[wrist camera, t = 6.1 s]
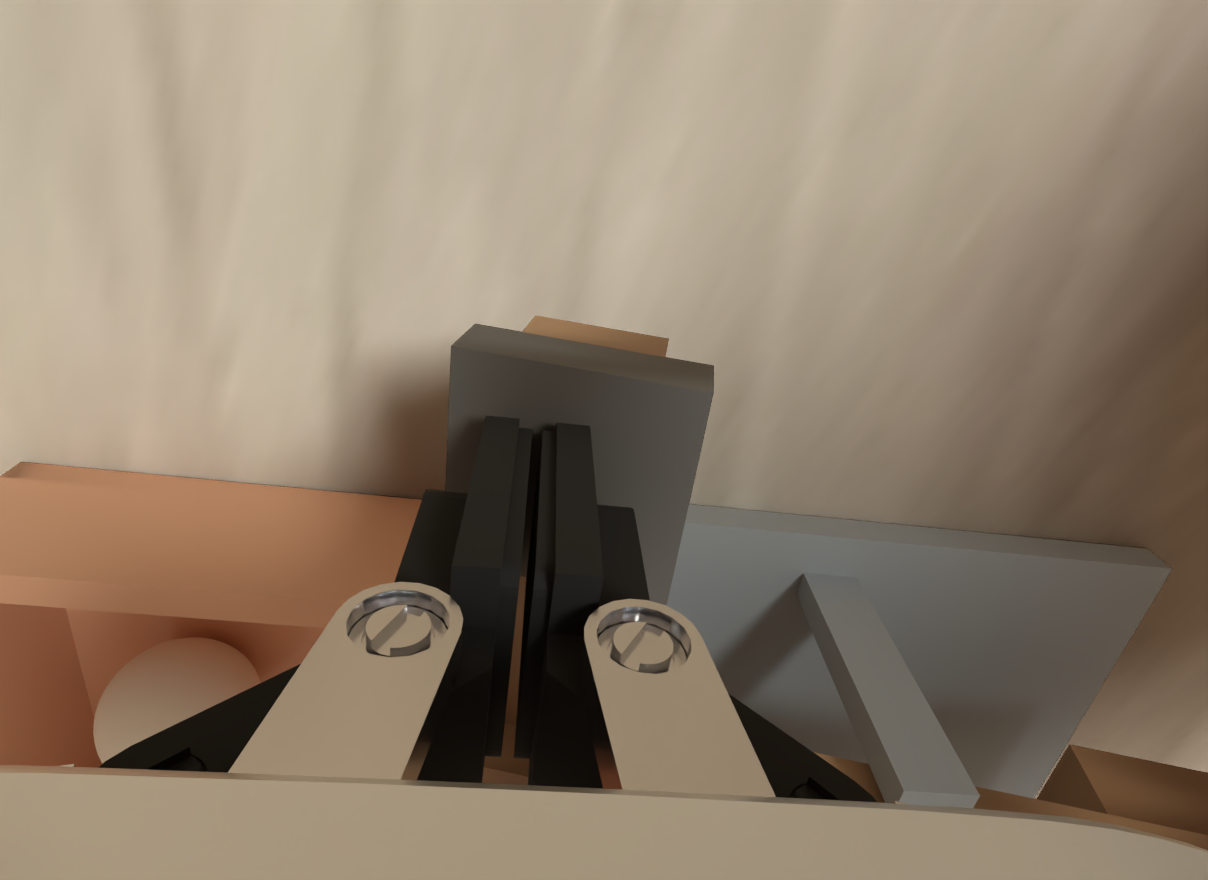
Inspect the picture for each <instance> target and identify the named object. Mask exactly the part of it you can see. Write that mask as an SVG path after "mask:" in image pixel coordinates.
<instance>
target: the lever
mask: <svg viewBox="0 0 1208 880" xmlns="http://www.w3.org/2000/svg"><path fill="white" fill-rule="evenodd" d="M668 340H669V339H667V338H661V337H656V336H650V335H644V334H638V333H633V332H627V331H621V330H615V329H610V328H604V327H598V326H592V325H587V324H581V323H575V322H569V321H564V320H558V319H552V318H546V317H541V316H535V317H534V318H533V319H532V321H531V322H530V323H529V324H528V325H527V327H526V328H525V329H524V330H523V331H522V332H520V331H514V330H508V329H503V328H497V327H491V326H485V325H480V324H474V325H473V326H472V327H471V328H470V329H469V330H468V331H467V332H466V333H465V334H464V335H462V336H461V337H460V338H459V339H458V340H457V341H456V342H455V343H454V344H453V345H452V346H451V364H450V388H449V413H448V437H447V462H446V487H445V491H451V492H462V493H468V491H469V487H470V482H471V478H472V473H473V469H474V465H475V460H476V456H477V452H478V447H479V443H480V438H481V434H482V430H483V425H484V421H485V417H486V415H487V416H497V417H507V418H517V419H520V424H519V428H528V429H532V439H531V451H530V464H529V476H528V488H527V500H526V512H525V524H524V536H523V548H522V560H521V571H520V581H519V591H518V601H517V611H516V620H515V630H514V639H513V649H512V659H511V668H510V678H509V687H508V697H507V706H506V716H505V726H504V735H503V745H502V754H501V757H489V756H485V761H484V770H483V779H482V783H490V784H513V785H528V770H529V759H527V758H514V744H515V730H516V715H517V701H518V686H519V672H520V658H521V643H522V629H523V614H524V600H525V586H526V575H527V565H528V556H529V547H530V538H531V528H532V519H533V510H534V501H535V492H536V483H537V473H538V464H539V455H540V446H541V437H542V430H547V431H555V428H556V423H566V424H576V425H586V426H590V429H591V441H592V452H593V463H594V474H595V486H596V497H597V505H608V506H620V507H631V508H633V510H634V513H635V518H636V524H637V530H638V535H639V541H640V547H641V552H642V558H643V564H644V570H645V575H646V581H647V587H648V592H649V598H650V601H652V602H656V603H659V604H663V605H667V602H668V597H669V593H670V588H671V584H672V579H673V575H674V570H675V566H676V561H677V556H678V552H679V547H680V543H681V538H682V534H683V529H684V525H685V520H686V516H687V511H688V506H689V502H690V497H691V493H692V488H693V484H694V479H695V475H696V470H697V466H698V461H699V456H700V452H701V447H702V443H703V438H704V434H705V429H706V425H707V420H708V416H709V411H710V407H711V402H712V397H713V393H714V366H713V365H707V364H702V363H696V362H690V361H684V360H679V359H673V358H667V357H666V351H667V346H668ZM814 753H815V752H814ZM815 754H817V755H818V756H819V757H821V758H822V759H824V760H825V761H827V762H828V763H830V764H831V765H832V766H834V767H835V768H837V769H838V770H840V771H841V772H843V773H844V774H845V775H847V776H848V777H850V778H851V779H853V780H854V781H855V782H857V783H858V784H859V785H860V786H861V787H862V788H864V789H865V790H866V791H867V792H868V793H869V794H871V795H872V796H873V797H874V799H875V800H876V801H877V802H878V803H885V801H884V799H883V796H882V794H881V792H880V789H879V787H878V785H877V782H876V780H875V778H874V775H873V773H872V771H871V768H870V766H869V764H867V763H862V762H858V761H853V760H848V759H843V758H839V757H834V756H829V755H824V754H820V753H815ZM975 787H976V786H975ZM976 789H977V791H978V793H979V794H980V797H979V799H978V800H977V802H976V804H975V806H974V808H975V809H986V810H997V811H1008V812H1019V813H1030V814H1041V815H1052V816H1063V817H1072V818H1078V819H1084V820H1090V821H1096V822H1102V823H1108V824H1114V825H1120V826H1125V827H1129V828H1133V829H1137V830H1141V831H1144V832H1148V833H1152V834H1156V835H1160V836H1164V837H1167V838H1171V839H1175V840H1179V841H1182V842H1185V843H1189V844H1191V845H1194V846H1197V847H1199V848H1202V849H1205V850H1208V773H1206V772H1201V771H1196V770H1191V769H1187V768H1182V767H1177V766H1172V765H1167V764H1162V763H1157V762H1152V761H1148V760H1143V759H1138V758H1133V757H1128V756H1123V755H1118V754H1113V753H1109V752H1104V751H1099V750H1094V749H1089V748H1084V747H1079V746H1074V745H1069V746H1068V748H1067V750H1066V751H1065V753H1064V755H1063V756H1062V758H1061V760H1060V761H1059V763H1058V765H1057V766H1056V768H1055V770H1054V771H1053V773H1052V774H1051V776H1050V778H1049V779H1048V781H1047V783H1046V784H1045V786H1044V788H1043V789H1042V791H1041V793H1040V794H1039V796H1038V798H1037V799H1033V798H1028V797H1024V796H1019V795H1014V794H1009V793H1005V792H1000V791H995V790H991V789H986V788H981V787H976Z"/></svg>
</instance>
